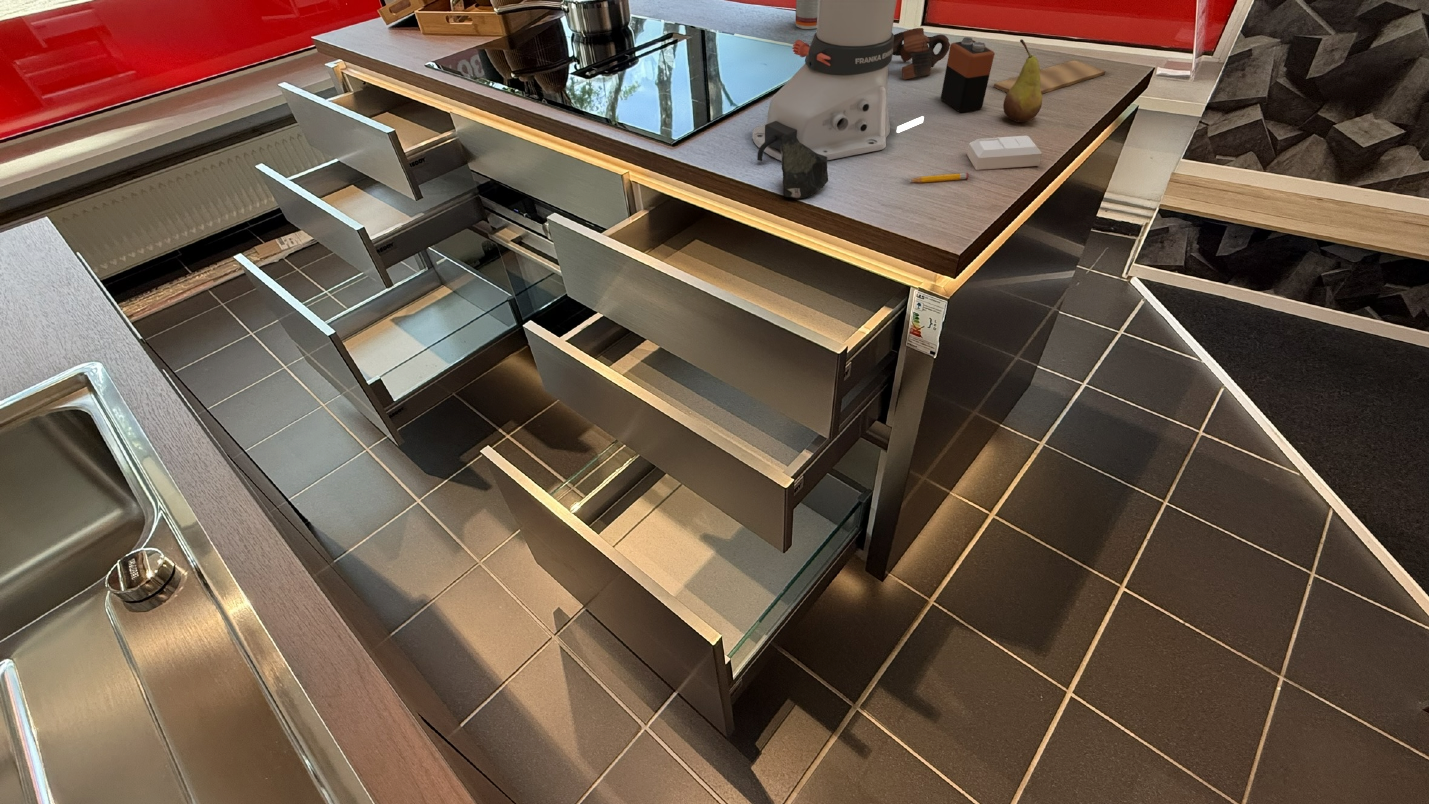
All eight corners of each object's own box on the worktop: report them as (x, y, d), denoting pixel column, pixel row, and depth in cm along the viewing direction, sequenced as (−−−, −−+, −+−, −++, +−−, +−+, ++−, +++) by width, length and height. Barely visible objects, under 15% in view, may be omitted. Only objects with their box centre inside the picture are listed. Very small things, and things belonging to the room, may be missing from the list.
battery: (959, 113, 113) (973, 49, 106) (939, 99, 118) (950, 36, 111) (983, 109, 114) (997, 45, 107) (961, 95, 119) (974, 33, 112)
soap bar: (1038, 165, 99) (1043, 147, 97) (976, 169, 99) (979, 152, 97) (1027, 150, 102) (1032, 133, 101) (966, 154, 103) (970, 137, 101)
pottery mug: (888, 85, 125) (880, 36, 123) (885, 91, 134) (877, 45, 131) (956, 65, 122) (949, 15, 120) (948, 72, 131) (942, 26, 129)
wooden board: (1023, 99, 116) (1024, 95, 116) (993, 87, 121) (994, 83, 120) (1104, 74, 123) (1106, 70, 122) (1073, 63, 127) (1074, 59, 127)
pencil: (969, 176, 97) (968, 172, 97) (909, 180, 97) (908, 176, 97) (967, 179, 98) (966, 175, 98) (908, 184, 97) (907, 180, 98)
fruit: (1022, 130, 108) (1045, 49, 99) (992, 119, 111) (1012, 39, 103) (1044, 120, 110) (1068, 40, 102) (1014, 110, 113) (1035, 31, 105)
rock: (831, 132, 95) (825, 150, 100) (781, 131, 95) (778, 150, 100) (831, 193, 93) (826, 209, 98) (781, 193, 94) (778, 208, 98)
